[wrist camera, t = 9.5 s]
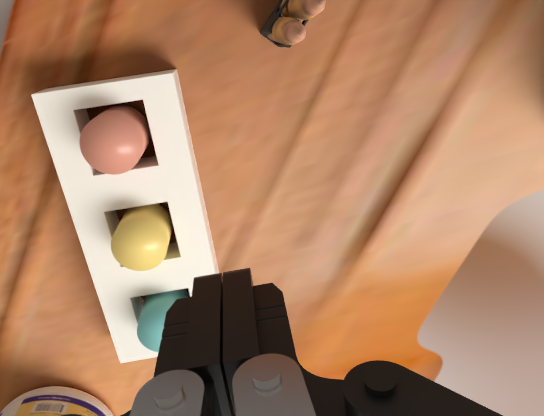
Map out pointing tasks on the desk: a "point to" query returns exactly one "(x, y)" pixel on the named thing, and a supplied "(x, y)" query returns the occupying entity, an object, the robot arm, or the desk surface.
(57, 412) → the supplement tub
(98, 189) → the panel
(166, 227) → the ochre button
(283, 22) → the ammunition clip
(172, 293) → the teal button
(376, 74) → the desk surface
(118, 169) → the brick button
